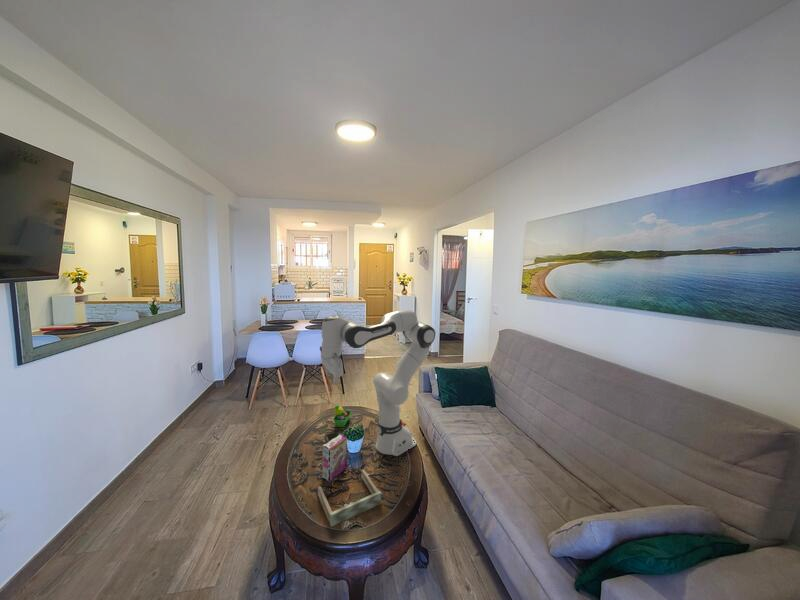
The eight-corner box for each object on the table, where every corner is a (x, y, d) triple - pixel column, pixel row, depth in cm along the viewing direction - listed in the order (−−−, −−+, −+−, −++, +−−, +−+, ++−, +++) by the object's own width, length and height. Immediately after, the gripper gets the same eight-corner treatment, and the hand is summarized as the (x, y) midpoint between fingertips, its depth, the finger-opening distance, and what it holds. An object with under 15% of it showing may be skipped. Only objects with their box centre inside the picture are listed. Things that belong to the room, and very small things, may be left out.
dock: (363, 477, 138) (363, 467, 137) (381, 503, 124) (381, 492, 123) (317, 495, 127) (317, 484, 126) (331, 526, 112) (331, 515, 112)
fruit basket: (344, 428, 176) (344, 411, 174) (330, 426, 177) (330, 409, 176) (351, 418, 187) (351, 401, 185) (338, 416, 188) (338, 400, 187)
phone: (330, 450, 155) (324, 434, 168) (330, 452, 155) (324, 436, 168) (345, 446, 158) (338, 431, 172) (345, 448, 159) (338, 433, 172)
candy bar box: (329, 482, 134) (329, 449, 132) (322, 478, 137) (321, 445, 134) (347, 468, 143) (347, 437, 141) (339, 464, 146) (339, 433, 143)
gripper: (346, 356, 130) (346, 386, 132) (331, 344, 147) (331, 370, 149) (332, 358, 127) (333, 389, 129) (318, 345, 144) (318, 373, 146)
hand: (332, 379), depth 139 cm, fingers open, 8 cm apart
